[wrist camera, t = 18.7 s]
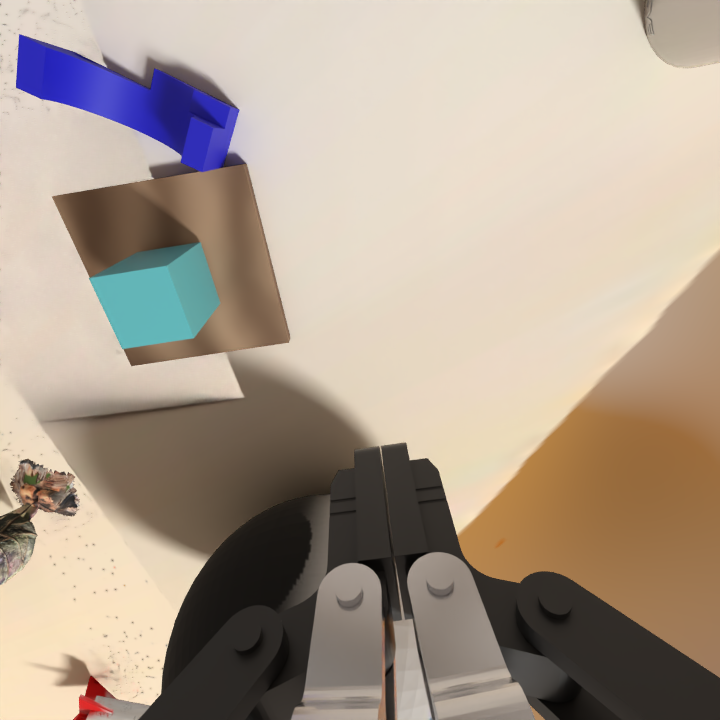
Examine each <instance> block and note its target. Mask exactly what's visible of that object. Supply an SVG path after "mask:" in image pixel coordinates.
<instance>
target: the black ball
mask: <svg viewBox="0 0 720 720" xmlns="http://www.w3.org/2000/svg"><path fill="white" fill-rule="evenodd" d="M329 517H330V494H327V495H313V496H306V497H302V498H297V499H293V500H290V501H287V502H284V503H282V504H279V505H276V506H274V507H272V508H270V509H268V510H266V511H264V512H262V513H261V514H259V515H257V516H255V517H254V518H252V519H251V520H249V521H248V522H246V523H245V524H244V525H243V526H241V527H240V528H239V529H237V530H236V531H235V532H234V533H233V534H232V535H231V536H230V537H229V538H227V539H226V540H225V541H224V542H223V543H222V545H221V546H220V547H219V548H218V549H217V550H216V551H215V552H214V554H213V555H212V556H211V557H210V558H209V560H208V561H207V562H206V564H205V565H204V567H203V568H202V570H201V571H200V573H199V574H198V576H197V577H196V578H195V580H194V582H193V584H192V586H191V588H190V589H189V591H188V593H187V595H186V597H185V599H184V601H183V603H182V606H181V608H180V611H179V613H178V615H177V618H176V620H175V623H174V627H173V630H172V634H171V637H170V641H169V644H168V648H167V652H166V657H165V663H164V669H163V676H162V691H161V694H162V693H163V692H164V691H165V689H166V688H167V687H168V686H169V685H170V684H171V683H172V682H173V681H174V680H175V678H176V677H177V676H178V675H179V674H180V673H181V672H182V671H183V670H184V668H185V667H186V666H187V665H188V664H189V663H190V662H191V661H192V660H193V659H194V657H195V656H196V655H197V654H198V653H199V652H200V651H201V650H202V649H203V648H204V646H205V645H206V644H207V643H208V642H209V641H210V640H211V639H212V638H213V636H214V635H215V634H216V633H217V632H218V631H219V630H220V629H221V628H222V627H223V625H224V624H225V623H226V622H227V621H228V620H229V619H230V618H231V617H232V616H233V615H235V614H236V613H237V612H239V611H241V610H242V609H245V608H247V607H250V606H255V605H262V606H267V607H270V608H271V609H273V610H274V611H275V612H276V613H277V614H279V613H281V612H283V611H285V610H287V609H289V608H291V607H293V606H296V605H298V604H300V603H302V602H303V601H305V600H307V599H308V598H309V597H311V596H312V595H313V594H314V593H315V592H316V591H317V589H318V588H319V587H320V584H321V582H322V581H323V579H324V578H325V575H326V572H327V562H328V538H329ZM395 565H396V563H395ZM396 573H397V569H396ZM397 581H398V575H397ZM398 590H399V598H400V606H401V615H402V620H401V621H393V623H394V633H395V643H396V653H395V660H396V693H397V720H432V719H431V714H430V710H429V705H428V700H427V695H426V691H425V686H424V681H423V677H422V672H421V667H420V662H419V658H418V651H417V644H416V638H415V632H414V625H413V619H407V620H405V617H404V611H403V605H402V599H401V593H400V587H399V581H398Z"/></svg>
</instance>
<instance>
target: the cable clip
mask: <svg viewBox="0 0 720 720" xmlns="http://www.w3.org/2000/svg"><path fill="white" fill-rule="evenodd" d="M16 88H18V89H21V90H23V91H25V92H27V93H29V94H31V95H34V96H36V97H38V98H40V99H45V100H50V101H54V102H59V103H62V104H66V105H70V106H73V107H76V108H79V109H83V110H86V111H89V112H91V113H94V114H97V115H100V116H103V117H105V118H108V119H111V120H113V121H116V122H118V123H121V124H123V125H126V126H128V127H130V128H133V129H135V130H137V131H139V132H141V133H144V134H146V135H148V136H150V137H152V138H154V139H156V140H158V141H160V142H162V143H163V144H165V145H167V146H169V147H170V148H172V149H173V150H175V151H176V152H178V153H179V154H180V155H181V156H182V159H181V163H183V164H185V165H187V166H189V167H192V168H194V169H196V170H198V171H200V172H205V171H210V170H214V169H218V168H223V167H224V163H225V159H226V156H227V152H228V149H229V145H230V141H231V138H232V134H233V131H234V127H235V123H236V120H237V116H238V113H239V109H237V108H235V107H233V106H231V105H229V104H227V103H225V102H223V101H221V100H219V99H217V98H215V97H213V96H211V95H209V94H207V93H205V92H203V91H201V90H199V89H197V88H195V87H193V86H191V85H189V84H187V83H185V82H183V81H181V80H179V79H177V78H175V77H173V76H171V75H169V74H167V73H165V72H163V71H160V70H158V69H155V68H154V73H153V79H152V84H151V89H149V88H147V87H145V86H143V85H141V84H139V83H137V82H135V81H133V80H131V79H129V78H127V77H124V76H122V75H120V74H118V73H116V72H114V71H112V70H110V69H108V68H106V67H104V66H102V65H100V64H98V63H96V62H94V61H92V60H90V59H88V58H85V57H83V56H81V55H79V54H77V53H75V52H73V51H69V50H66V49H63V48H60V47H57V46H54V45H51V44H48V43H45V42H42V41H39V40H36V39H33V38H29V37H26V36H23V35H20V34H19V48H18V63H17V79H16Z"/></svg>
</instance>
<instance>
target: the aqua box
mask: <svg viewBox="0 0 720 720" xmlns="http://www.w3.org/2000/svg"><path fill="white" fill-rule="evenodd" d="M89 279H90V281H91V284H92V286H93V288H94V290H95V292H96V294H97V296H98V298H99V301H100V303H101V305H102V307H103V309H104V311H105V313H106V315H107V317H108V320H109V322H110V324H111V326H112V328H113V330H114V332H115V334H116V337H117V339H118V341H119V343H120V345H121V347H122V349H127V348H133V347H140V346H146V345H153V344H159V343H166V342H172V341H179V340H185V339H192V338H194V337H195V336H196V335H197V333H198V332H199V331H200V330H201V328H202V327H203V326H204V324H205V323H206V322H207V320H208V319H209V318H210V316H211V315H212V314H213V312H214V311H215V310H216V309H217V307H218V306H219V305H220V300H219V297H218V294H217V291H216V288H215V285H214V282H213V279H212V276H211V273H210V270H209V267H208V263H207V260H206V257H205V254H204V251H203V248H202V245H201V242H197V243H191V244H185V245H179V246H173V247H166V248H160V249H154V250H148V251H142V252H137V253H135V254H133V255H131V256H129V257H127V258H126V259H124V260H122V261H120V262H118V263H116V264H114V265H113V266H111V267H109V268H107V269H105V270H103V271H101V272H100V273H98V274H96V275H94V276H92V277H90V278H89Z"/></svg>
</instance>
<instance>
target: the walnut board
mask: <svg viewBox="0 0 720 720" xmlns="http://www.w3.org/2000/svg"><path fill="white" fill-rule="evenodd" d="M52 198H53V200H54V202H55V204H56V206H57V208H58V211H59V213H60V215H61V217H62V219H63V221H64V223H65V226H66V228H67V230H68V232H69V234H70V236H71V238H72V240H73V243H74V245H75V247H76V249H77V251H78V253H79V255H80V257H81V260H82V262H83V264H84V266H85V268H86V270H87V272H88V275H89V277H92V276H94V275H96V274H98V273H100V272H101V271H103V270H105V269H107V268H109V267H111V266H113V265H114V264H116V263H118V262H120V261H122V260H124V259H126V258H127V257H129V256H131V255H133V254H135V253H137V252H142V251H148V250H154V249H160V248H166V247H173V246H179V245H185V244H191V243H197V242H201V245H202V248H203V251H204V254H205V257H206V260H207V263H208V267H209V270H210V273H211V276H212V279H213V282H214V285H215V288H216V291H217V294H218V297H219V300H220V305H219V306H218V307H217V309H216V310H215V311H214V312H213V314H212V315H211V316H210V318H209V319H208V320H207V322H206V323H205V324H204V326H203V327H202V328H201V330H200V331H199V332H198V333H197V335H196V336H195V337H194V338H192V339H185V340H179V341H172V342H166V343H159V344H153V345H146V346H140V347H133V348H127V349H124V351H125V353H126V356H127V358H128V360H129V362H130V364H131V366H135V365H142V364H148V363H155V362H162V361H168V360H175V359H182V358H188V357H195V356H202V355H209V354H215V353H222V352H229V351H235V350H242V349H249V348H255V347H262V346H269V345H275V344H282V343H289V340H290V334H289V330H288V326H287V322H286V318H285V314H284V310H283V306H282V302H281V298H280V294H279V290H278V286H277V282H276V278H275V274H274V270H273V266H272V263H271V259H270V255H269V251H268V247H267V243H266V239H265V235H264V231H263V227H262V223H261V219H260V215H259V211H258V207H257V203H256V199H255V195H254V191H253V187H252V183H251V179H250V175H249V171H248V167H247V164H241V165H236V166H230V167H224V168H218V169H214V170H210V171H205V172H194V173H188V174H182V175H176V176H170V177H164V178H158V179H152V180H146V181H140V182H134V183H129V184H123V185H117V186H111V187H105V188H99V189H93V190H87V191H81V192H75V193H69V194H63V195H58V196H52Z"/></svg>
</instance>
